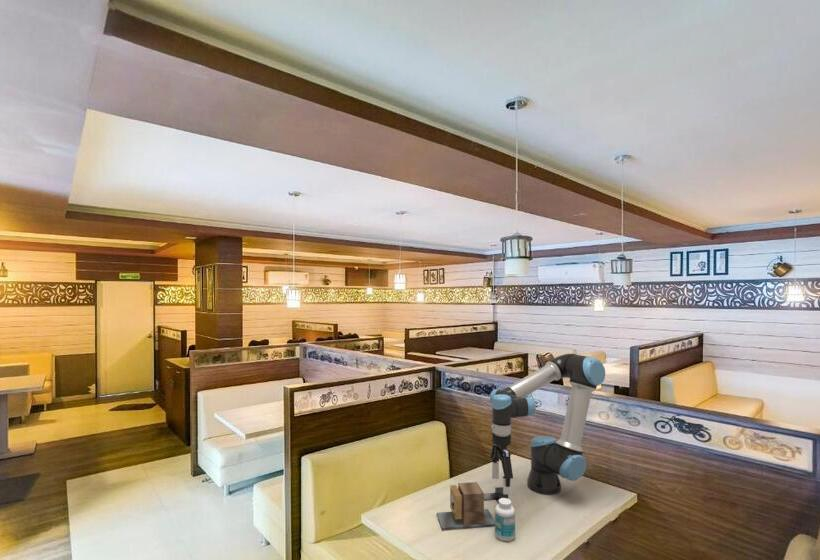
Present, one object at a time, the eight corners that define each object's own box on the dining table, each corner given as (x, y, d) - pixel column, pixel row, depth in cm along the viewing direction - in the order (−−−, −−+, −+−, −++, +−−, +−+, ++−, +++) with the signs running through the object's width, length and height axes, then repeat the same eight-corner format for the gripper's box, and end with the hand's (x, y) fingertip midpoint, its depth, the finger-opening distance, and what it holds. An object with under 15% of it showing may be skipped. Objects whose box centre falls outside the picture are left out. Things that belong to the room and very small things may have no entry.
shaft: (504, 499, 174) (504, 486, 174) (508, 504, 169) (508, 492, 169) (450, 502, 171) (450, 490, 171) (452, 508, 166) (452, 495, 167)
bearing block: (488, 511, 176) (487, 480, 176) (496, 526, 165) (496, 493, 165) (436, 515, 173) (436, 483, 174) (442, 530, 162) (442, 496, 163)
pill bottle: (492, 531, 162) (492, 496, 162) (511, 530, 163) (511, 495, 163) (498, 543, 155) (498, 506, 155) (517, 542, 155) (517, 505, 155)
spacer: (456, 506, 173) (456, 485, 174) (461, 518, 165) (461, 495, 165) (450, 507, 173) (450, 485, 173) (455, 519, 164) (455, 496, 164)
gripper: (483, 424, 184) (482, 472, 183) (503, 445, 159) (502, 501, 158) (499, 423, 185) (499, 472, 184) (522, 444, 160) (521, 500, 159)
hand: (500, 485), depth 171 cm, fingers open, 13 cm apart
